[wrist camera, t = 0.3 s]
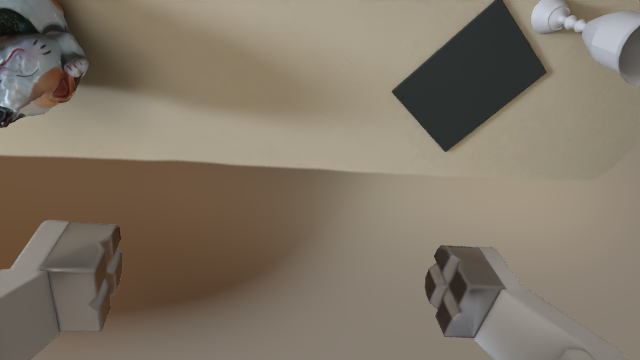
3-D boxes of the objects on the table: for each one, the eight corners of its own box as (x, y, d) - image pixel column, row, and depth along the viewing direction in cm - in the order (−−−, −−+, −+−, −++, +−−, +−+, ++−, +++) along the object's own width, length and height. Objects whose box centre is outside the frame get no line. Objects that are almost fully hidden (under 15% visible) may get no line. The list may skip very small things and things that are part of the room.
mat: (498, -4, 55) (500, -3, 55) (545, 71, 62) (546, 72, 61) (391, 91, 60) (392, 92, 60) (444, 151, 67) (445, 152, 67)
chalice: (582, 15, 58) (697, 52, 43) (539, 51, 60) (634, 99, 45) (558, -27, 55) (673, -3, 39) (514, 14, 57) (606, 51, 42)
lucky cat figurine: (48, -44, 47) (63, 28, 40) (93, 46, 57) (111, 117, 50) (-110, -15, 43) (-125, 71, 36) (-32, 77, 53) (-32, 158, 46)
